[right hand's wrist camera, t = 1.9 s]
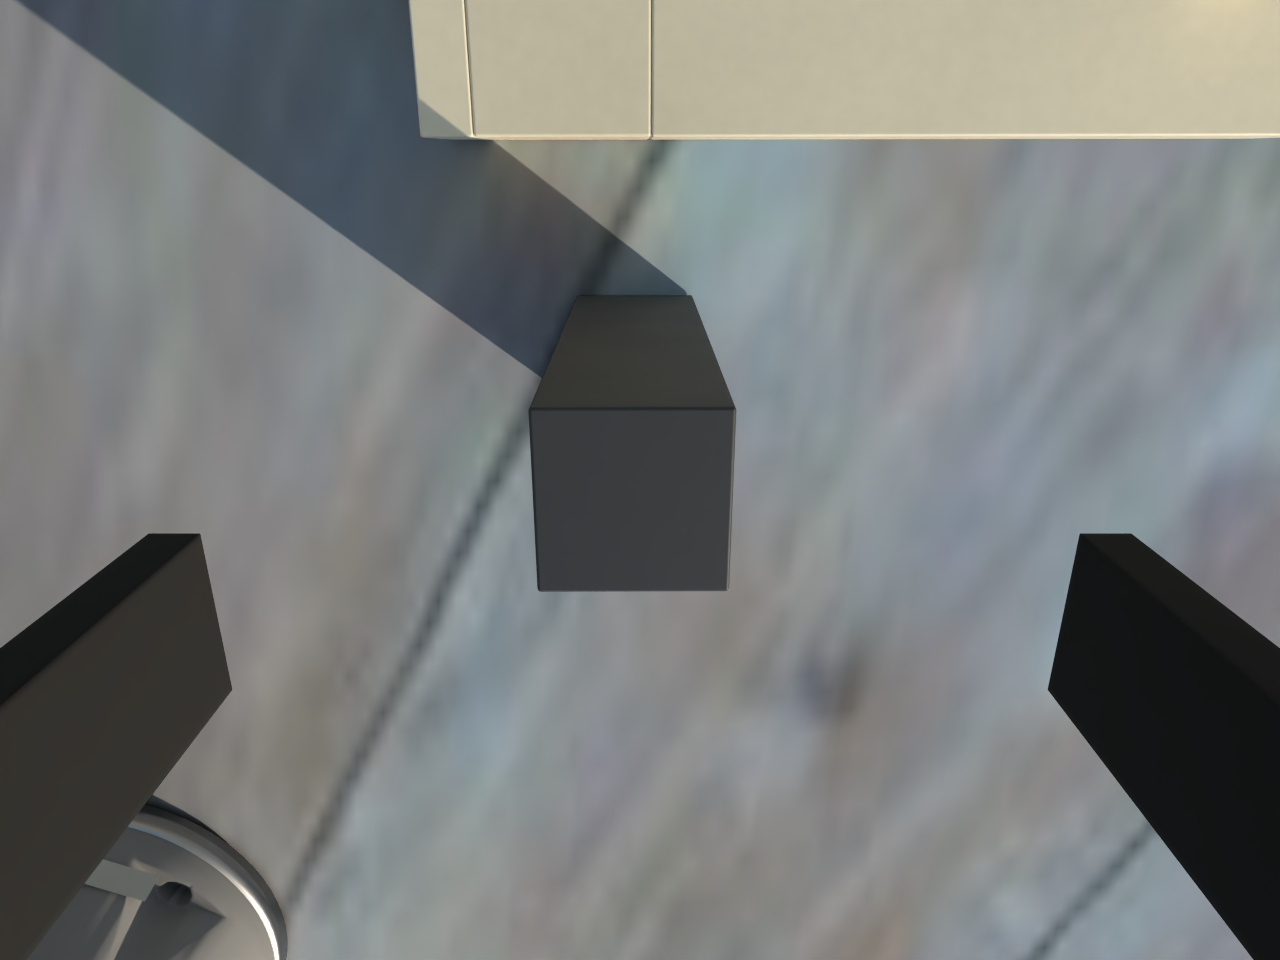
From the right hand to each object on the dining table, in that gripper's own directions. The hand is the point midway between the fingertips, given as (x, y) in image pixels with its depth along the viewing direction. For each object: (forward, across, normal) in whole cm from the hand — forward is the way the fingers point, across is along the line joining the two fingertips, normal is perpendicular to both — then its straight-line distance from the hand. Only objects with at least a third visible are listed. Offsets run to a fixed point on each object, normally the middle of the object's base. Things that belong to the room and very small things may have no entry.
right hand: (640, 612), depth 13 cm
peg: (+18, 0, 0) cm, 18 cm away
